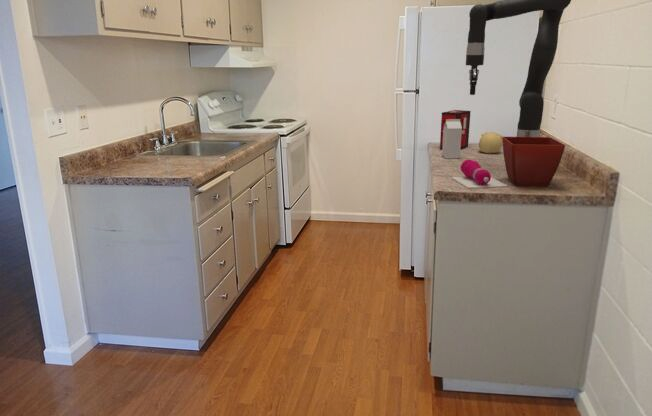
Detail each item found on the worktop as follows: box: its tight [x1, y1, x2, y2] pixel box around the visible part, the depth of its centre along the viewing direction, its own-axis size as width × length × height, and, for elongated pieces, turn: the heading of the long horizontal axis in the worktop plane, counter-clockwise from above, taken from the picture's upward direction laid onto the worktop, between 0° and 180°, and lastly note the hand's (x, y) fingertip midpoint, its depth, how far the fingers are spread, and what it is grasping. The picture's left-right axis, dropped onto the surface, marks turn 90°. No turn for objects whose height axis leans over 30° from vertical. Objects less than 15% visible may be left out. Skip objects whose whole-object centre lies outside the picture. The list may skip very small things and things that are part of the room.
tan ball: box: [478, 131, 504, 154], centre depth 262 cm, size 12×12×11 cm
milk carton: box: [441, 119, 462, 159], centre depth 250 cm, size 7×7×19 cm
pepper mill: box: [460, 159, 492, 185], centre depth 201 cm, size 7×7×20 cm
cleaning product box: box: [439, 109, 472, 151], centre depth 274 cm, size 16×9×20 cm, turn 141°
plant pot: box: [502, 136, 566, 187], centre depth 198 cm, size 19×19×17 cm
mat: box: [450, 175, 509, 189], centre depth 201 cm, size 18×16×1 cm
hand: (472, 94), depth 224 cm, fingers closed
